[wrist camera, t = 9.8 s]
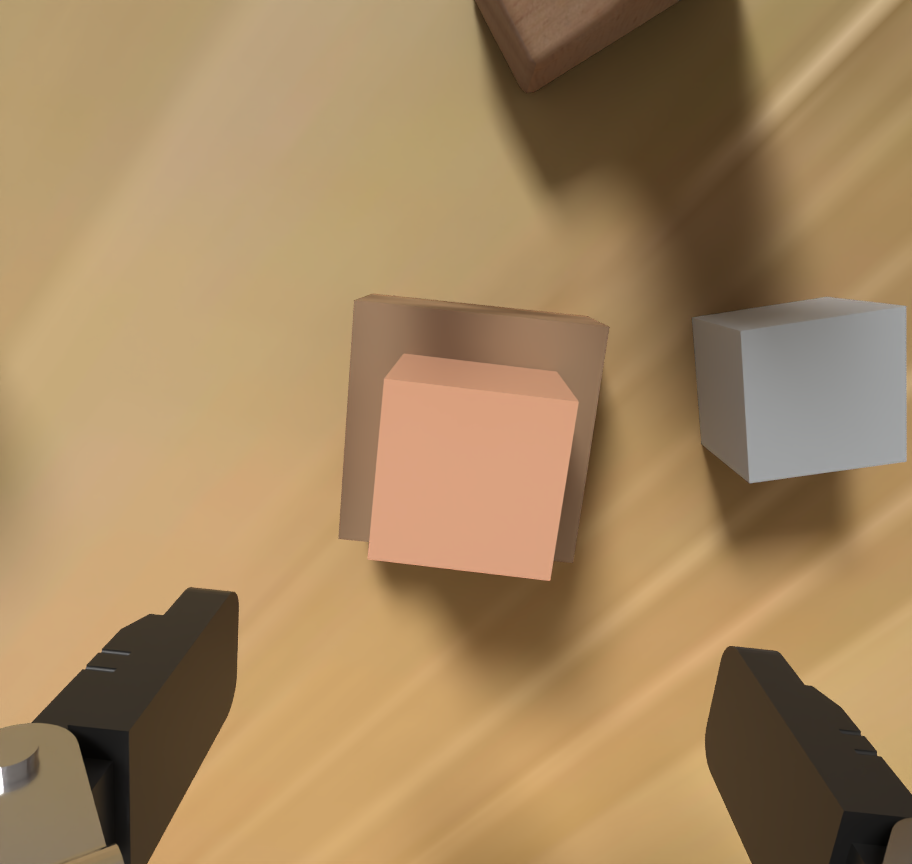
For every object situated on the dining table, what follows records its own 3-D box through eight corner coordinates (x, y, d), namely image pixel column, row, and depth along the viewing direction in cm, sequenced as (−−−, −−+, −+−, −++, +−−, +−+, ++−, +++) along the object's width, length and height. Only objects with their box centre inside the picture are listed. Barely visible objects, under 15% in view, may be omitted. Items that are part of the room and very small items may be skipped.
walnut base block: (586, 315, 30) (609, 327, 25) (557, 516, 32) (573, 562, 27) (373, 293, 29) (354, 300, 25) (358, 495, 32) (338, 538, 27)
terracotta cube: (557, 371, 25) (579, 401, 20) (535, 515, 26) (550, 580, 21) (403, 353, 25) (383, 378, 20) (389, 498, 26) (367, 559, 21)
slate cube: (825, 296, 29) (905, 306, 24) (829, 425, 30) (906, 461, 25) (691, 317, 29) (740, 331, 24) (700, 443, 31) (749, 483, 25)
